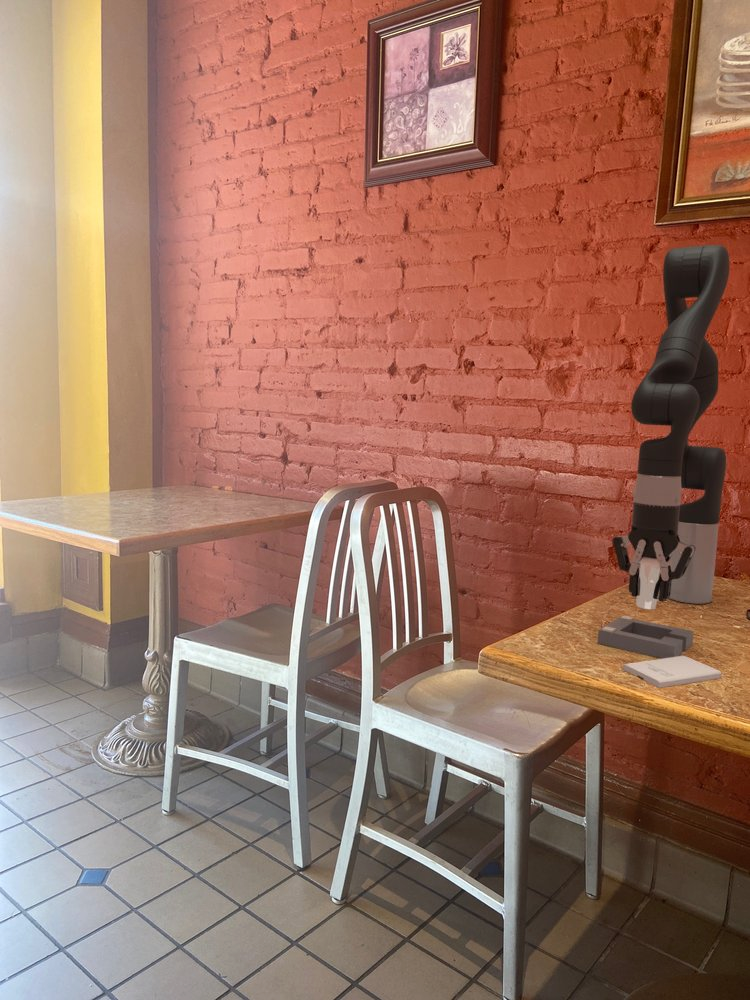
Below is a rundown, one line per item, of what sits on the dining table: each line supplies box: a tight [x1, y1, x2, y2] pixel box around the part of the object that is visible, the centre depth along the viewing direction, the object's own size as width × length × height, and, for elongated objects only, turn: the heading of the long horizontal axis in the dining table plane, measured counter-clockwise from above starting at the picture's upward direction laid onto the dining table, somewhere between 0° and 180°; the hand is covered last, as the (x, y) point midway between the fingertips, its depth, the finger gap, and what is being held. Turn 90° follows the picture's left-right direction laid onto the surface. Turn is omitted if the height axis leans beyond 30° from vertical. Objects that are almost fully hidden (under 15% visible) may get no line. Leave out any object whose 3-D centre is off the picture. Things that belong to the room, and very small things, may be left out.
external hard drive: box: [621, 655, 723, 689], centre depth 118 cm, size 2×8×12 cm
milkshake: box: [635, 554, 673, 611], centre depth 130 cm, size 4×5×10 cm
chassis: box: [597, 615, 695, 659], centre depth 132 cm, size 11×13×3 cm
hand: (648, 597), depth 131 cm, fingers closed on milkshake, 4 cm apart
